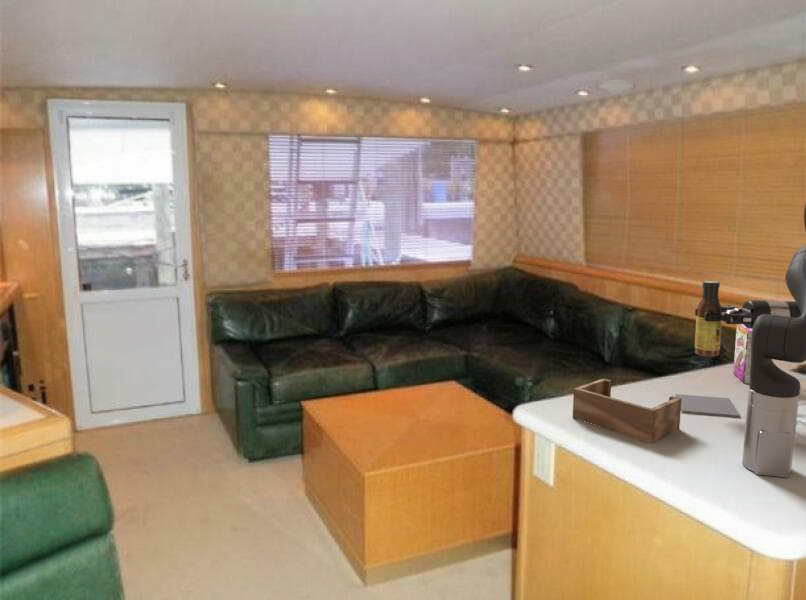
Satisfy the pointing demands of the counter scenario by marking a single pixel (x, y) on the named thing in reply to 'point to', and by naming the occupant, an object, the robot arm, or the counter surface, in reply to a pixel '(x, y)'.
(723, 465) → the counter surface
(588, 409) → the walnut crate
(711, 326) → the sauce bottle
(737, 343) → the candy bar box
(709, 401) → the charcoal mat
